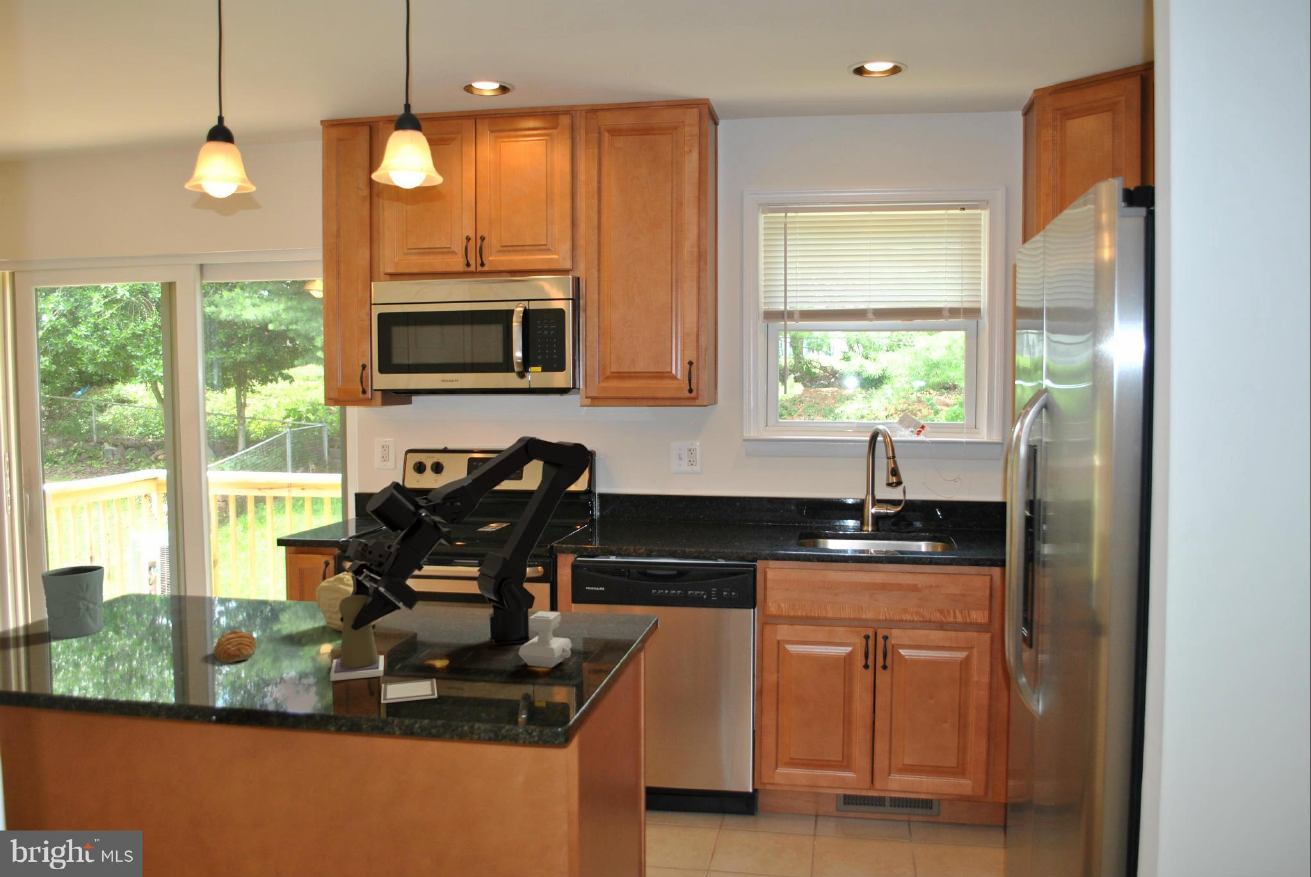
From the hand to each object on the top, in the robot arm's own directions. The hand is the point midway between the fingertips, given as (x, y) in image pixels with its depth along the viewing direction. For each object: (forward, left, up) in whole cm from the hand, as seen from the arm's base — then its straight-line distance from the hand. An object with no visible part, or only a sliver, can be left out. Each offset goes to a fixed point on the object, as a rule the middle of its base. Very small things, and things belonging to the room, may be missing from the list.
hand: (347, 625), depth 151 cm
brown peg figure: (-2, -1, -7) cm, 7 cm away
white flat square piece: (-9, +12, -8) cm, 17 cm away
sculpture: (+1, -29, -8) cm, 30 cm away
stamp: (-31, +5, -8) cm, 33 cm away
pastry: (+19, -16, -8) cm, 27 cm away
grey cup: (+52, -42, -8) cm, 67 cm away
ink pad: (-1, -1, -8) cm, 8 cm away
